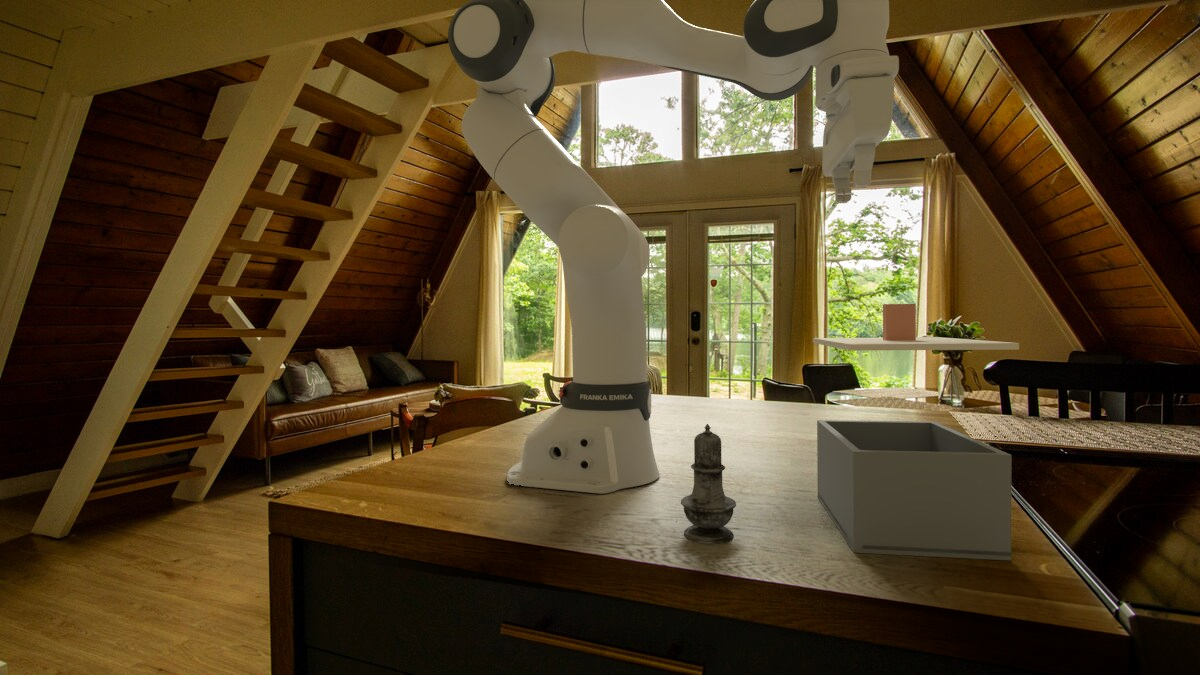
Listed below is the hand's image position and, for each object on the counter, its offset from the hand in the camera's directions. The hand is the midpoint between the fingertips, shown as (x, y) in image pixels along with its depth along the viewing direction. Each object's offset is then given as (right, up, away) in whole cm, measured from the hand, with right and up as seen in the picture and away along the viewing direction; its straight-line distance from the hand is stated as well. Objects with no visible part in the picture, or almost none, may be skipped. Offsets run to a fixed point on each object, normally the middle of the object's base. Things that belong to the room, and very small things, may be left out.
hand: (852, 195), depth 76 cm
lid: (0, -20, -12) cm, 23 cm away
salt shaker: (-21, -40, -13) cm, 47 cm away
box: (0, -39, -11) cm, 41 cm away
